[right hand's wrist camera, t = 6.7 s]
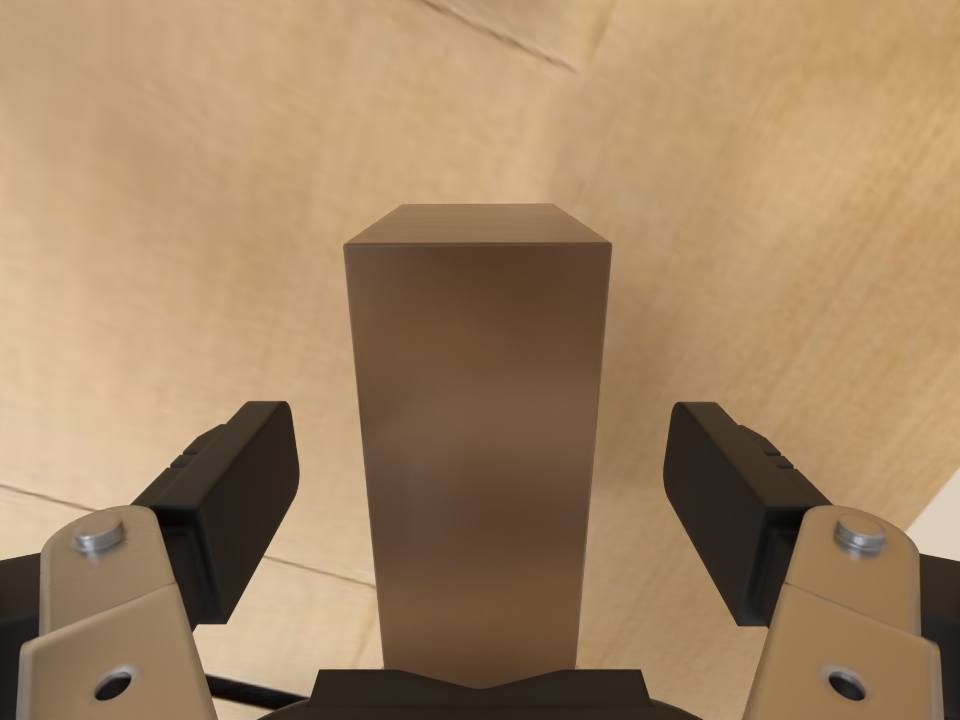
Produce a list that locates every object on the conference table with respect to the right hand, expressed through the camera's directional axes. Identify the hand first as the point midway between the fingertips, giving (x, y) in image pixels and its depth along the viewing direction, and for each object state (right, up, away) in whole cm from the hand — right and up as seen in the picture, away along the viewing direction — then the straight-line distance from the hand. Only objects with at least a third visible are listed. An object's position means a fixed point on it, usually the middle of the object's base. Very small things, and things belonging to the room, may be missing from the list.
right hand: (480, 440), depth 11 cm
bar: (0, -3, +11) cm, 12 cm away
